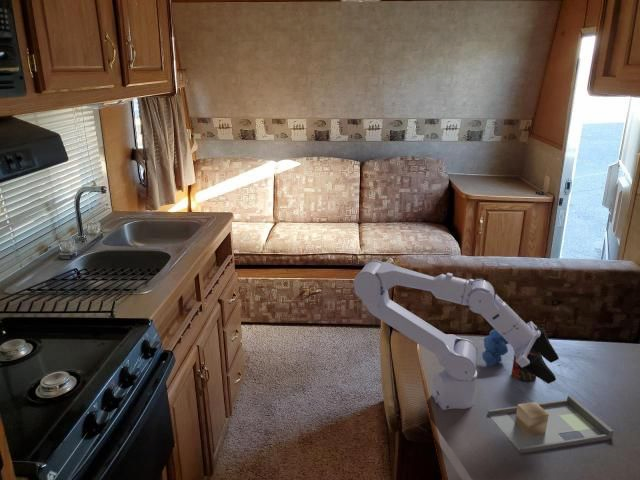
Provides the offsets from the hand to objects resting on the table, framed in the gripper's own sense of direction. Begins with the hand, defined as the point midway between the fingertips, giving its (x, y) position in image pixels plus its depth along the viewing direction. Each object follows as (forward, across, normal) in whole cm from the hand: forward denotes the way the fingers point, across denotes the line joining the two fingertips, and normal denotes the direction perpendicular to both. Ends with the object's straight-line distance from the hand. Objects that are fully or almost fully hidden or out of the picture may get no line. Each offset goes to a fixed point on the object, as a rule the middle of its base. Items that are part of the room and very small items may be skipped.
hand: (553, 370), depth 108 cm
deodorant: (+6, +14, +16) cm, 23 cm away
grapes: (0, +20, +23) cm, 30 cm away
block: (+6, -7, +10) cm, 14 cm away
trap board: (+10, -5, +10) cm, 14 cm away
